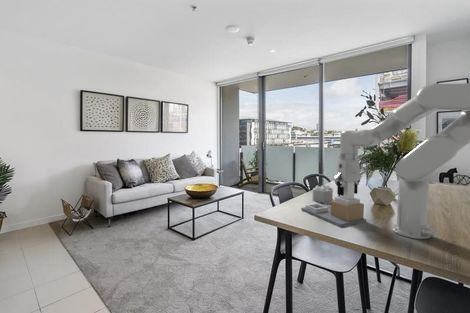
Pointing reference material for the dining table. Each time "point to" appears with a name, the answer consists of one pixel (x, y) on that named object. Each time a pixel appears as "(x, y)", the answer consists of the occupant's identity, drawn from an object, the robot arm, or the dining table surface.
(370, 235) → the dining table surface
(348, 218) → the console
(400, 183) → the robot arm
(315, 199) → the lumpy-topped squat cylinder
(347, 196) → the plug
